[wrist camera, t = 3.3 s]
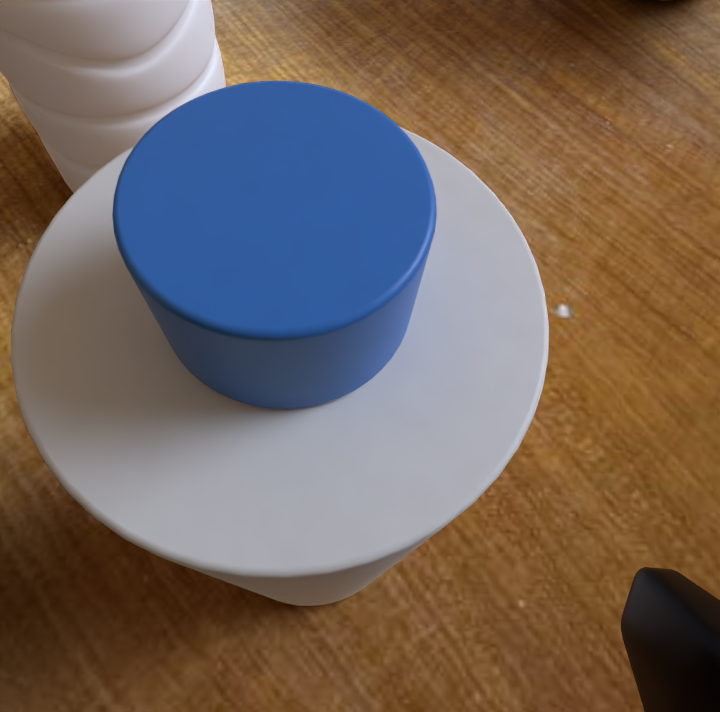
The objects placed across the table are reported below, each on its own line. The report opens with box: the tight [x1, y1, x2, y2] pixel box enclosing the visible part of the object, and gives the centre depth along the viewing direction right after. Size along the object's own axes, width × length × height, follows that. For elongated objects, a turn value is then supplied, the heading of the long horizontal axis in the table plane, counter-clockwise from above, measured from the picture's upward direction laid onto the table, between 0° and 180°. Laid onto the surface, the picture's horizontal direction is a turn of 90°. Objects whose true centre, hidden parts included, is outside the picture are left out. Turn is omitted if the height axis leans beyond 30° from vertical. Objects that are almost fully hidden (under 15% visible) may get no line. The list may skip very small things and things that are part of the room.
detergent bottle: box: [11, 81, 549, 606], centre depth 11 cm, size 6×6×14 cm
